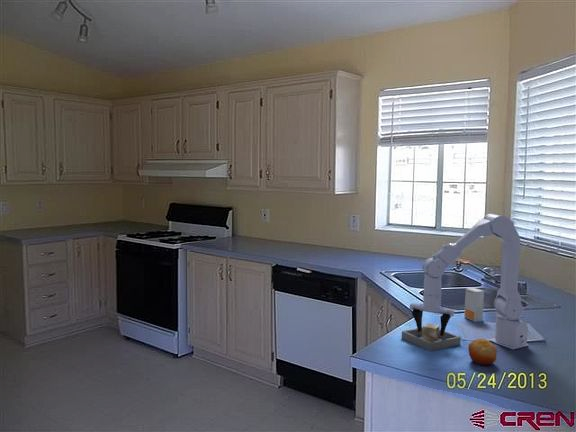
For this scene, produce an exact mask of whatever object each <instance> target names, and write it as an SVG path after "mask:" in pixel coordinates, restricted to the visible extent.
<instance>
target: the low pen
mask: <svg viewBox="0 0 576 432" xmlns="http://www.w3.org/2000/svg"><path fill="white" fill-rule="evenodd" d="M422 329H423V326H422ZM440 332H441V328H439V338H441V339H440V341H435V342H429V341H426V340H424V339H422V337H419V336H422V330H421V331H420V332H418V329H417V327H416V328H412V329H406V330H401V339H402V340H404V341H407V342H409V343H411V344H413V345H416V346H418V347H421V348H422V349H425V350H427V351H429V352H432V351H438V350H441V349H446V348H450V347H454V346H458V345H461V339H462V337H461V336H460V335H459V336H458V335H457V334H453V333H450V332H449V331H446V330H445V332H444V335H443V336H440Z"/></svg>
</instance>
